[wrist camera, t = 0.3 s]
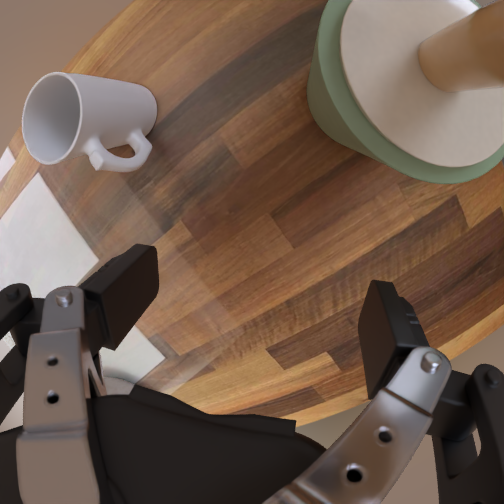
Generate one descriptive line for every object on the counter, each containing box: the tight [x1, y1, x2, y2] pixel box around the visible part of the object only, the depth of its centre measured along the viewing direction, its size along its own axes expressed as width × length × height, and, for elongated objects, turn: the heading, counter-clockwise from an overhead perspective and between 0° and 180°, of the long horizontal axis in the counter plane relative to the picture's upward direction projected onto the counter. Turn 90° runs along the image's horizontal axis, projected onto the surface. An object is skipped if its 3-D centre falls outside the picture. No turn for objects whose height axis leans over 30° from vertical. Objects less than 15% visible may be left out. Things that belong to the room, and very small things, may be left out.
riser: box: [307, 0, 504, 184], centre depth 16 cm, size 10×10×16 cm
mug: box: [22, 72, 157, 172], centre depth 21 cm, size 10×7×12 cm, turn 42°
